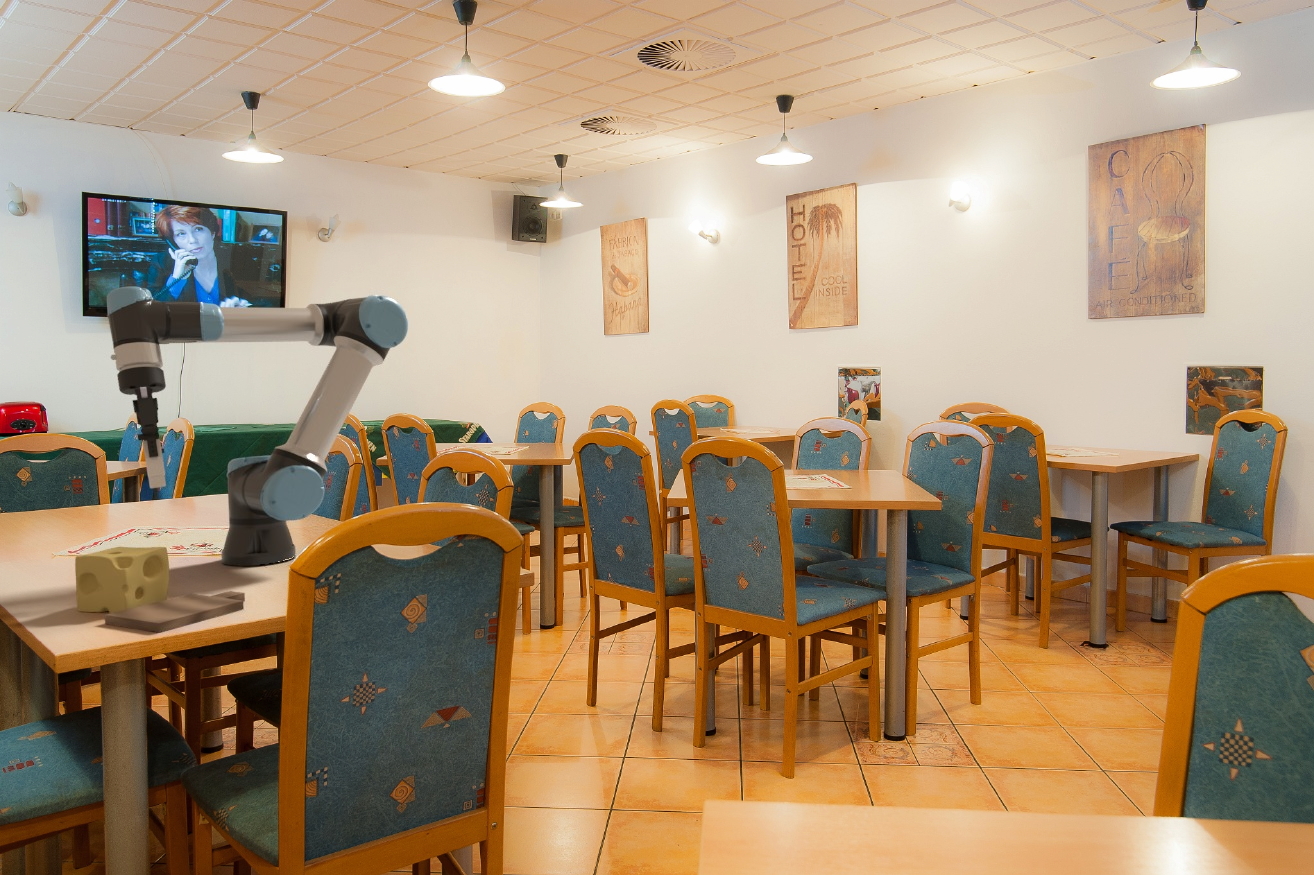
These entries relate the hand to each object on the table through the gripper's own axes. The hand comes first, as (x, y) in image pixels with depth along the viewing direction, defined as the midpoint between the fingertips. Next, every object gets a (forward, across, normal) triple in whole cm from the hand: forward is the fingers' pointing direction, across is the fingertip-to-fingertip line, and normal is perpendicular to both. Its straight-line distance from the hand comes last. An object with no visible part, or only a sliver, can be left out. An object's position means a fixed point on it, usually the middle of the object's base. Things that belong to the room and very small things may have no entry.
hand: (157, 482), depth 164 cm
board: (+25, +10, +1) cm, 27 cm away
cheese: (+21, -1, -8) cm, 23 cm away
